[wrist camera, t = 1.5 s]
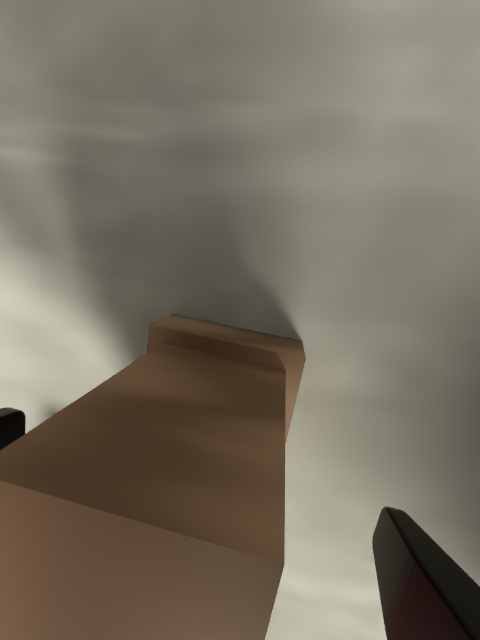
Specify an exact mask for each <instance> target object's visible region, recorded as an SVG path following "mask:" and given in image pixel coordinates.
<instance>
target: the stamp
mask: <svg viewBox="0 0 480 640" xmlns="http://www.w3.org/2000/svg"><path fill="white" fill-rule="evenodd" d="M304 363H305V353H304V348H303V343H302V341H300V340H295V339H290V338H285V337H280V336H276V335H271V334H266V333H261V332H256V331H252V330H247V329H242V328H237V327H232V326H227V325H223V324H218V323H213V322H208V321H203V320H198V319H194V318H189V317H184V316H179V315H174V314H172V315H170V316H168V317H166V318H164V319H162V320H160V321H157V322H155V323H153V324H151V325H150V329H149V338H148V347H147V354H145V355H144V356H142V357H141V358H139V359H138V360H136V361H135V362H133V363H132V364H130V365H129V366H127V367H126V368H124V369H123V370H121V371H120V372H118V373H117V374H115V375H114V376H112V377H111V378H109V379H108V380H106V381H105V382H103V383H102V384H100V385H99V386H97V387H96V388H94V389H93V390H91V391H90V392H88V393H87V394H85V395H84V396H82V397H81V398H79V399H78V400H76V401H75V402H73V403H72V404H70V405H68V406H67V407H65V408H64V409H62V410H61V411H59V412H58V413H56V414H55V415H53V416H52V417H50V418H49V419H47V420H46V421H44V422H43V423H41V424H40V425H38V426H37V427H35V428H34V429H32V430H31V431H29V432H28V433H26V434H25V435H23V436H22V437H20V438H19V439H17V440H16V441H14V442H13V443H11V444H10V445H8V446H7V447H5V448H4V449H2V450H1V451H0V640H265V636H266V632H267V629H268V625H269V621H270V617H271V613H272V609H273V606H274V602H275V598H276V594H277V590H278V586H279V583H280V579H281V575H282V571H283V567H284V526H285V443H286V439H287V435H288V431H289V426H290V422H291V418H292V414H293V409H294V405H295V401H296V397H297V392H298V388H299V384H300V380H301V375H302V371H303V367H304Z"/></svg>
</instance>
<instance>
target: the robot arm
mask: <svg viewBox="0 0 480 640" xmlns="http://www.w3.org/2000/svg"><path fill="white" fill-rule="evenodd" d="M23 435H25V414H24V412H23V411H21V410H17V409H13V408H2V409H0V451H1V450H2V449H4V448H5V447H7V446H8V445H10V444H11V443H13V442H14V441H16V440H17V439H19V438H20V437H22V436H23ZM372 544H373V553H374V559H375V566H376V573H377V579H378V586H379V592H380V599H381V606H382V612H383V619H384V625H385V630H386V636H387V640H480V586H479V585H478V584H477V583H476V582H475V581H474V580H473V579H472V578H471V577H470V576H469V575H468V574H467V573H466V572H465V571H464V570H463V569H462V568H461V567H460V566H459V565H458V564H457V563H456V562H455V561H454V560H453V559H452V558H451V557H450V556H449V555H448V554H447V553H446V552H445V551H444V550H443V549H442V548H441V547H440V546H439V545H438V544H437V543H436V542H435V541H434V540H433V539H432V538H431V537H430V536H429V535H428V534H427V533H426V532H425V531H424V530H423V529H422V528H421V527H420V526H419V525H418V524H417V523H416V522H415V521H414V520H413V519H412V518H411V517H410V516H409V515H408V514H407V513H405V512H404V511H402V510H399V509H395V508H391V507H384V508H383V509H382V511H381V513H380V516H379V519H378V522H377V525H376V528H375V531H374V534H373V541H372Z"/></svg>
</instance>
